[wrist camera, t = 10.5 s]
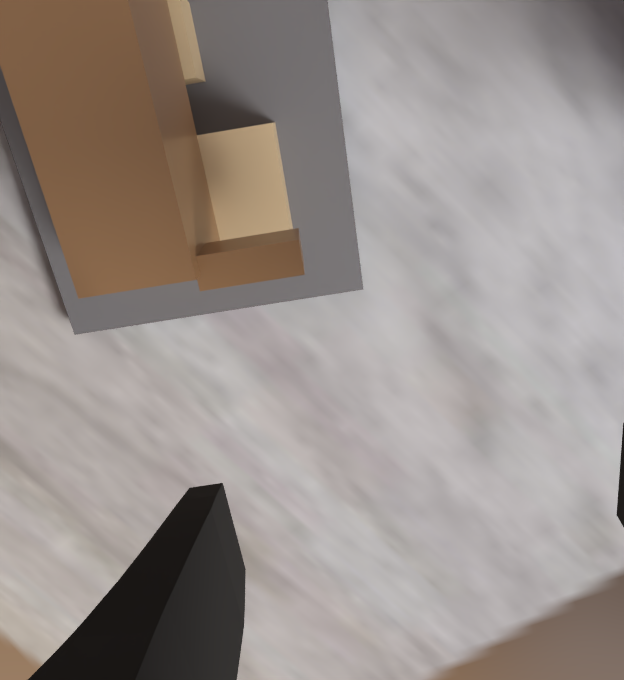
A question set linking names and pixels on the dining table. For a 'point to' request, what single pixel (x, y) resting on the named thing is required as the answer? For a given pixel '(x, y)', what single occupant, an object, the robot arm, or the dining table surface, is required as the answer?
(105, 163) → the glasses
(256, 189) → the gray tray with blocks
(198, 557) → the robot arm
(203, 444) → the dining table surface
